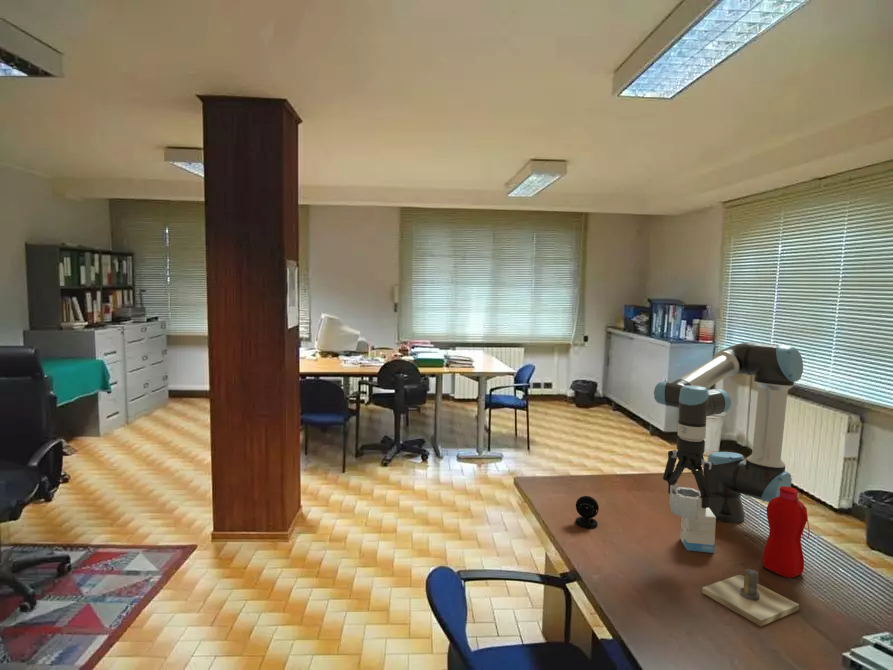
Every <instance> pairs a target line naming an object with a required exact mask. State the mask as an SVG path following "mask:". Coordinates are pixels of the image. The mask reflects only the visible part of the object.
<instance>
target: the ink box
mask: <svg viewBox="0 0 893 670" xmlns="http://www.w3.org/2000/svg"><path fill="white" fill-rule="evenodd" d="M716 521H717V520H716V517H715V515H714V514H713V513H712V511H711V510H710V508H706V517H705V518H701V519H690V518H682V517H681V521H680V522H681V523H680V535H679V537H680V540H681V543H682V544H683V546H684V549H685V550H686V551H692V552H701V553H709V554H710V553H711V554H714V553H715V543H716V542H715V541H716V523H717V522H716Z"/></svg>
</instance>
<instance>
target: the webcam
mask: <svg viewBox="0 0 893 670" xmlns="http://www.w3.org/2000/svg"><path fill="white" fill-rule="evenodd" d="M575 510H576V512H577V513H578V514H579V516H578V517H576V519H575V525H577V526H578V527H580V528H583V529H587V530H588V529H595V528H596V527H598V521H597V520H596V519H594V517H596V516H598V513H599V510H600V507H599V503H598V501H597V500H596V499H595V498H594V497H592V496H589V495H582V496H580V497H578V499H577V500H576V502H575Z"/></svg>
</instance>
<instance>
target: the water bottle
mask: <svg viewBox="0 0 893 670" xmlns="http://www.w3.org/2000/svg"><path fill="white" fill-rule="evenodd" d="M779 490H780V496H778V497H775V498H773V499H771V500H770V502H767V503H768V504H767V507H766V517H767V522H768V528H769V530H768V531H769V535H768V537H767V540H766V543H765V546H764V548H763V553H762V557H761V558H762V560H761V561H762V565H763V567H764V568H765V569H766V570H768V571H771V572H773V573H775V574H777V575H779V576H782V577H784V578H789V579H791V578H795V577H797V576H801V575H803V573H804V570H805V558H804V554H803V553H804V552H803V548H802V547H803V546H802V538H803V539H804V540H808V539H809V538H810V533H807V535H808V536H807V538H805V536H804V533H803V532H804V530H805V527H806V525H807V527H808V528H807V531H808V532H810V525H809V524H810V523H809V517H808V510H807V507H806V506H805V504H804V503H803V502H802V501H800V500H799V497H798V493H799V492H798V490H797V488H794V487H786V486H782V487H780V489H779Z"/></svg>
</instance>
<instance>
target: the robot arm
mask: <svg viewBox="0 0 893 670" xmlns="http://www.w3.org/2000/svg"><path fill="white" fill-rule="evenodd" d="M803 373H804V361H803V357H802V354H801V352H800V351H799V350H798V349H797V348H796V347H794V346H789V345H784V344H771V343H759V342H758V343H757V342H742V343H741V342H740V343H738V344H735V345H731V346H729V347H728V346H727V347H726V348H724V349H722V350H720V351H718V352H717V353H715V354H714V355H713V357H712V359H710V360H707V361H706V362H705V363H703V364H701V365H700V366H698V367H696V368H694V369H692V370H691V371H689V372H688V373H685V374H684V375H683V376H680V377H679V378H677V379H676V380H674V381H671V382H668V381H660V382H657V384H656V385H655V386H654V389H653V395H654V396H653V397H654V400H655V402H656V403H658V404H659V405H664V406H666V407H673V408H678V421H677V423H678V424H677V438H676V449H677V450H676V449H673V450H669V451H667V452H668V453H667V462H666V466H665V469H664V473H663V476H662V479H663V480H664V481H666V482H667V484H668V486H667V487H668V488H667V489H668V490H667V492H668V494H669V502H668V505H669V506H670V504H671V489H673V488H677V487H679V484H677V483H678V480H679V478H680V477H681V475H682V474H683V472H684V470H685V469H688V470H689V471H690V472H691V474H692V475H693V476H694V479H695V483H696V485H697V488H698V491H700V494H701V496H698V512H697V518H698V519H701V518H705V517H706V508H710V510H711V511H712V513H713V514H714V515H715V517H716V521H718V522H722V523H729V524H730V523H731V524H732V523H733V524H734V523H735V524H737V523H742V522H744V521H745V516H746V515H745V514H746V512H745V511H744V510H745V509H744V506H743V502H742V499H741V495H744V496H748V497H751V498H754V499H757V500H760V501H762V502H765V503H769V502H770V500H771V499H773V498H775V497H778V496H780V490H779V489H780V487H782V486H786V487H791V486H792V475H791V473H790V472H788V471H786V464H785V463H784V461H783V460H782V451H783V439H784V431H785V430H784V429H785V420H786V412H787V411H786V410H787V399H788V391H789V390H790V389H791V388H793V387H794V383H795V382H798V381H800V380H801V379H802V375H803ZM736 375H748V376H753V377H754V379H753V382H754V384H755V385H756V386H757V387H758V388H757V389H758V390H757V391H758V392H757V400H756V409H755V410H756V411H755V420H754V428H753V429H754V431H753V439H752V440H753V441H752V442H753V443H752V449H751V450H752V452H751V454H750V455H748V456H747V457H746V460H745V458H744V455H743V454H741V453H738V452H731V451H729V452H728V451H715V452H712V453H710V454H709V455H707V460H705V459H704V454H705V447H706V441H705V439H706V433H707V432H706V431H707V428H706V427H707V417H710V416H715V415H722V414H723V413H726V412H728V411H729V410H730V409H731V406H732V399H731V396H730V395H729V393H728V392H727V391H725V390H724V389H720V388H713V389H710V387H712V386H714V385H715V384H717V383H719V382H720V381H722V380H724V379H725V378H729V377H730V378H731V377H734V376H736ZM677 459H678V462H677Z"/></svg>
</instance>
